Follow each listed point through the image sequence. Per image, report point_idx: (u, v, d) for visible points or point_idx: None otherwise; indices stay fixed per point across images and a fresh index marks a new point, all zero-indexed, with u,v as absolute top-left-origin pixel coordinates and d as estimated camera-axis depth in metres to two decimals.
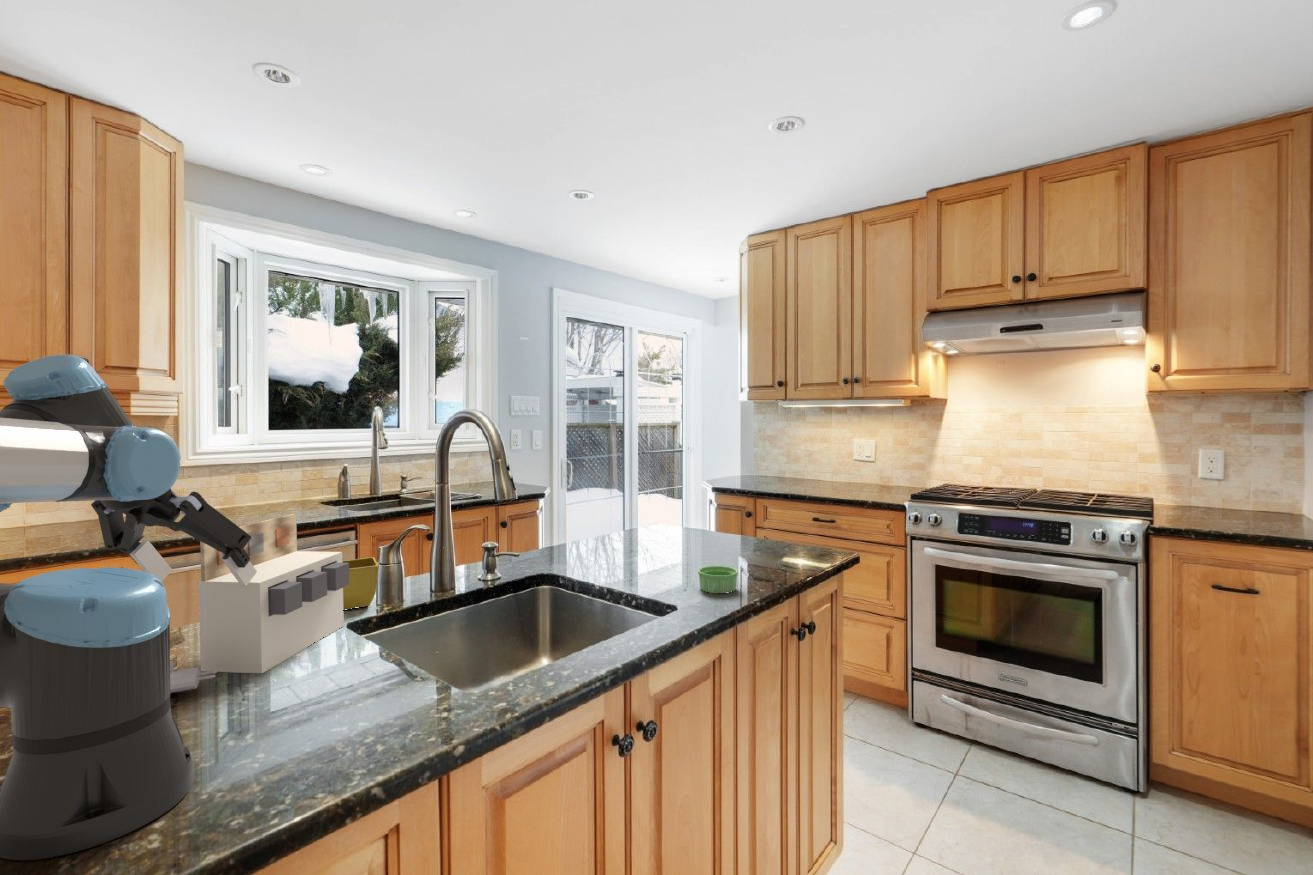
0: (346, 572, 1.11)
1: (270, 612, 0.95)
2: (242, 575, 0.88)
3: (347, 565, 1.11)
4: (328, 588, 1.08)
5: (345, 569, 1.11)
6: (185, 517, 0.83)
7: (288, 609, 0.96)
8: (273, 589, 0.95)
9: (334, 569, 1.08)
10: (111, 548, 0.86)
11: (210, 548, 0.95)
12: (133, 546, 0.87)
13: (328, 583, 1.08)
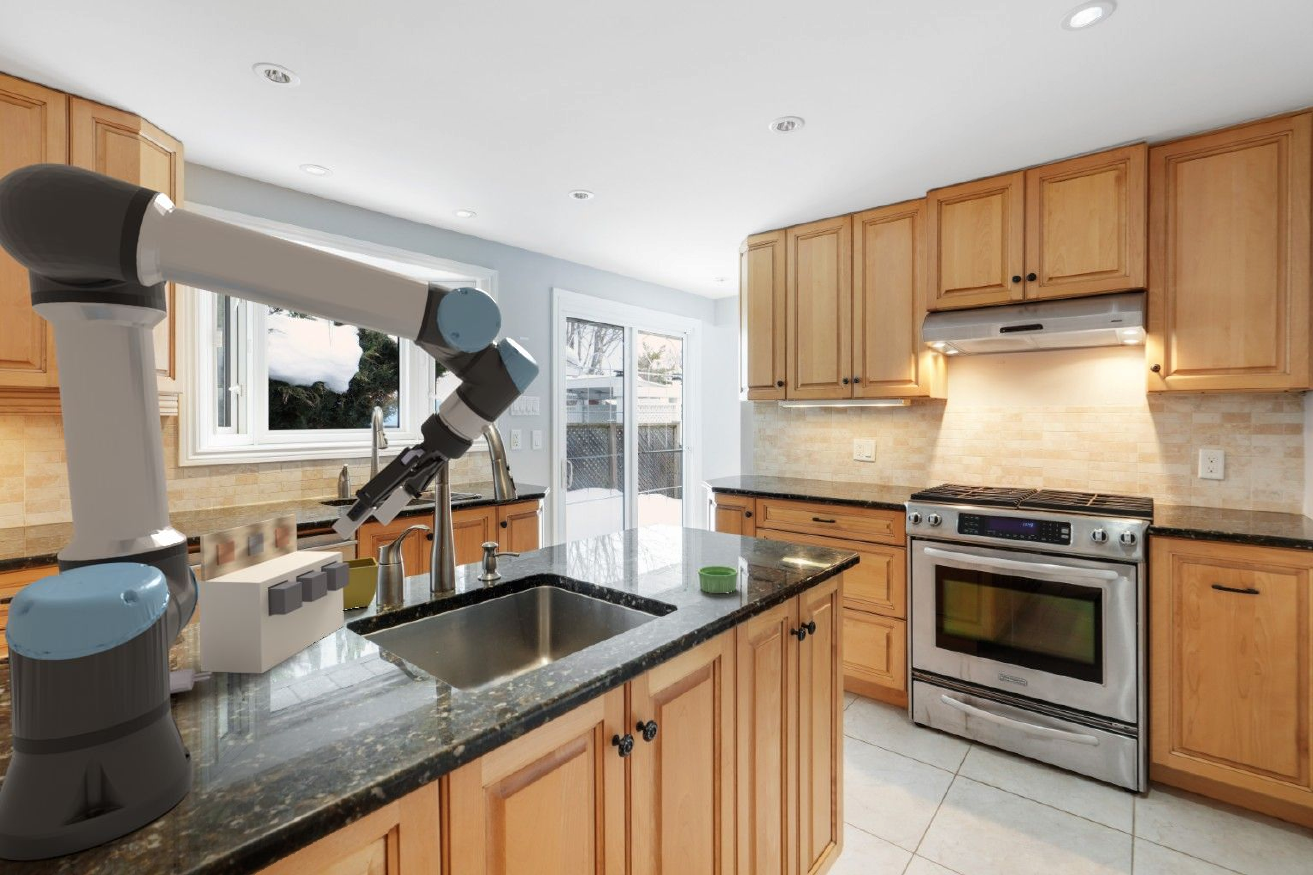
0: (346, 572, 1.11)
1: (270, 612, 0.95)
2: (342, 520, 0.89)
3: (347, 565, 1.11)
4: (328, 588, 1.08)
5: (345, 569, 1.11)
6: None
7: (288, 609, 0.96)
8: (273, 589, 0.95)
9: (334, 569, 1.08)
10: None
11: (210, 548, 0.95)
12: (407, 488, 1.01)
13: (328, 583, 1.08)
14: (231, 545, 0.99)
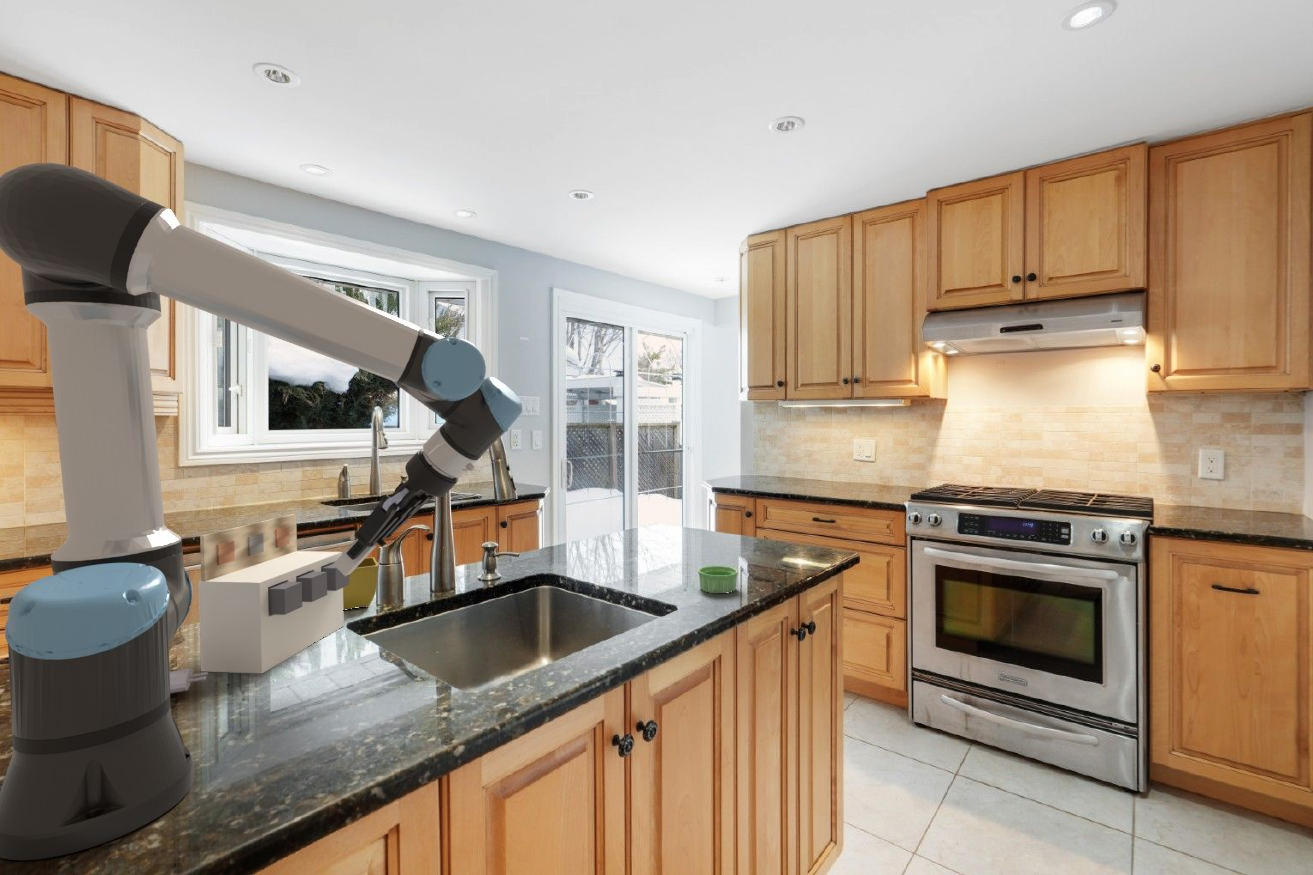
0: None
1: (270, 612, 0.95)
2: (342, 558, 0.96)
3: None
4: (328, 588, 1.08)
5: None
6: None
7: (288, 609, 0.96)
8: (273, 589, 0.95)
9: (334, 569, 1.08)
10: None
11: (210, 548, 0.95)
12: None
13: (328, 583, 1.08)
14: (231, 545, 0.99)
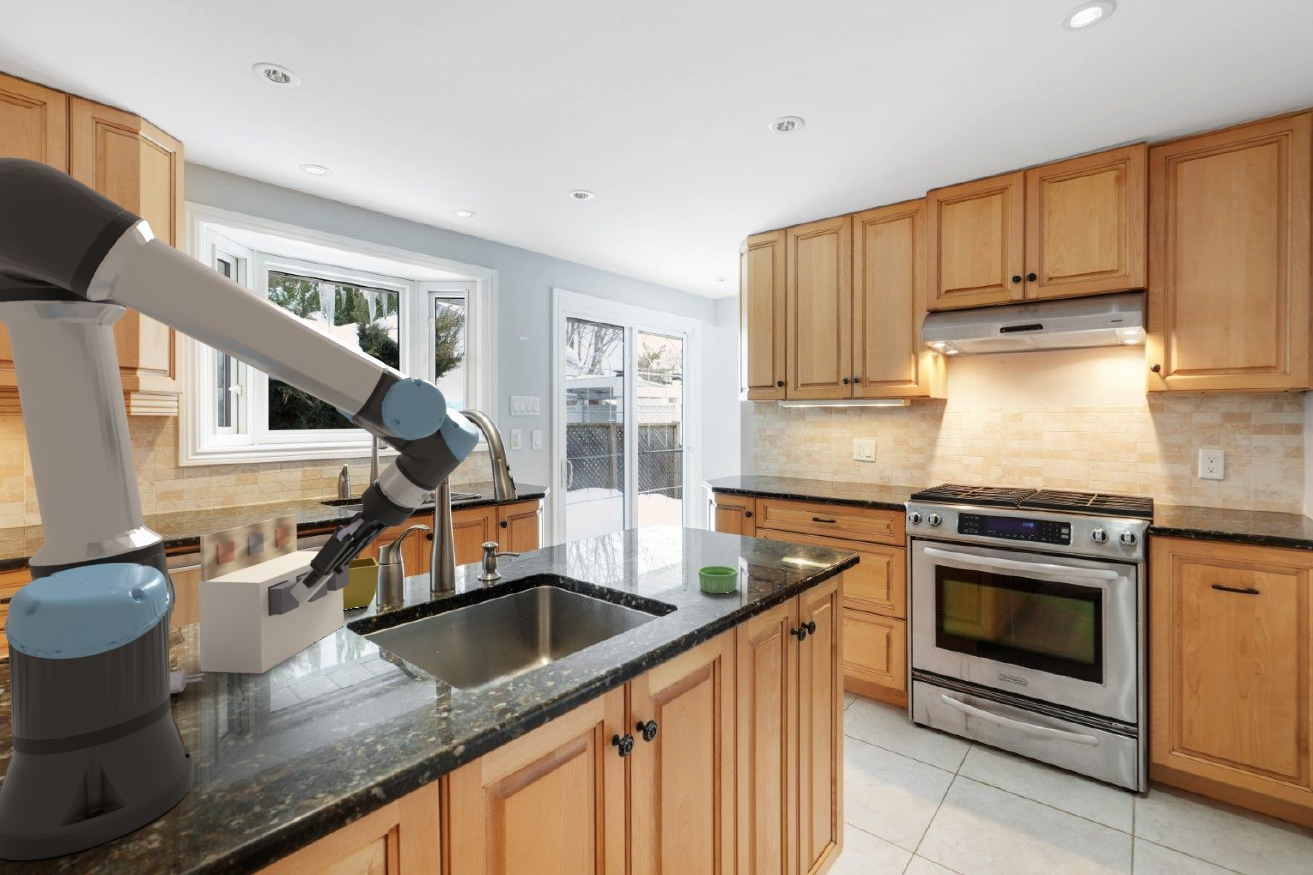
0: (346, 572, 1.11)
1: None
2: (299, 586, 0.96)
3: (347, 565, 1.11)
4: (328, 588, 1.08)
5: (345, 569, 1.11)
6: None
7: (285, 609, 0.96)
8: (270, 589, 0.95)
9: None
10: None
11: (210, 548, 0.95)
12: None
13: (328, 583, 1.08)
14: (231, 545, 0.99)
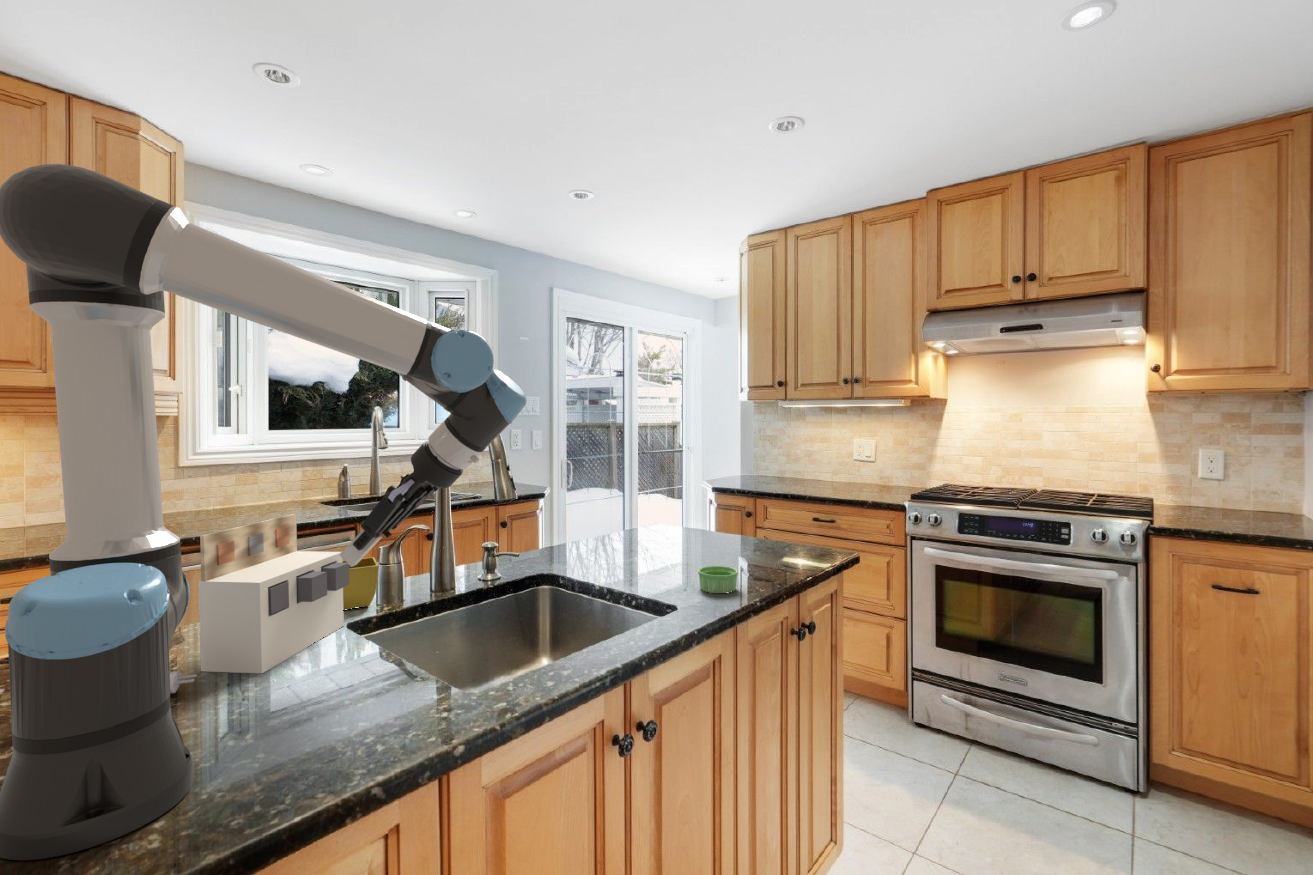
0: (346, 572, 1.11)
1: None
2: (348, 549, 0.97)
3: (347, 565, 1.11)
4: (328, 588, 1.08)
5: (345, 569, 1.11)
6: None
7: (275, 609, 0.96)
8: None
9: (334, 569, 1.08)
10: None
11: (210, 548, 0.95)
12: None
13: (328, 583, 1.08)
14: (231, 545, 0.99)
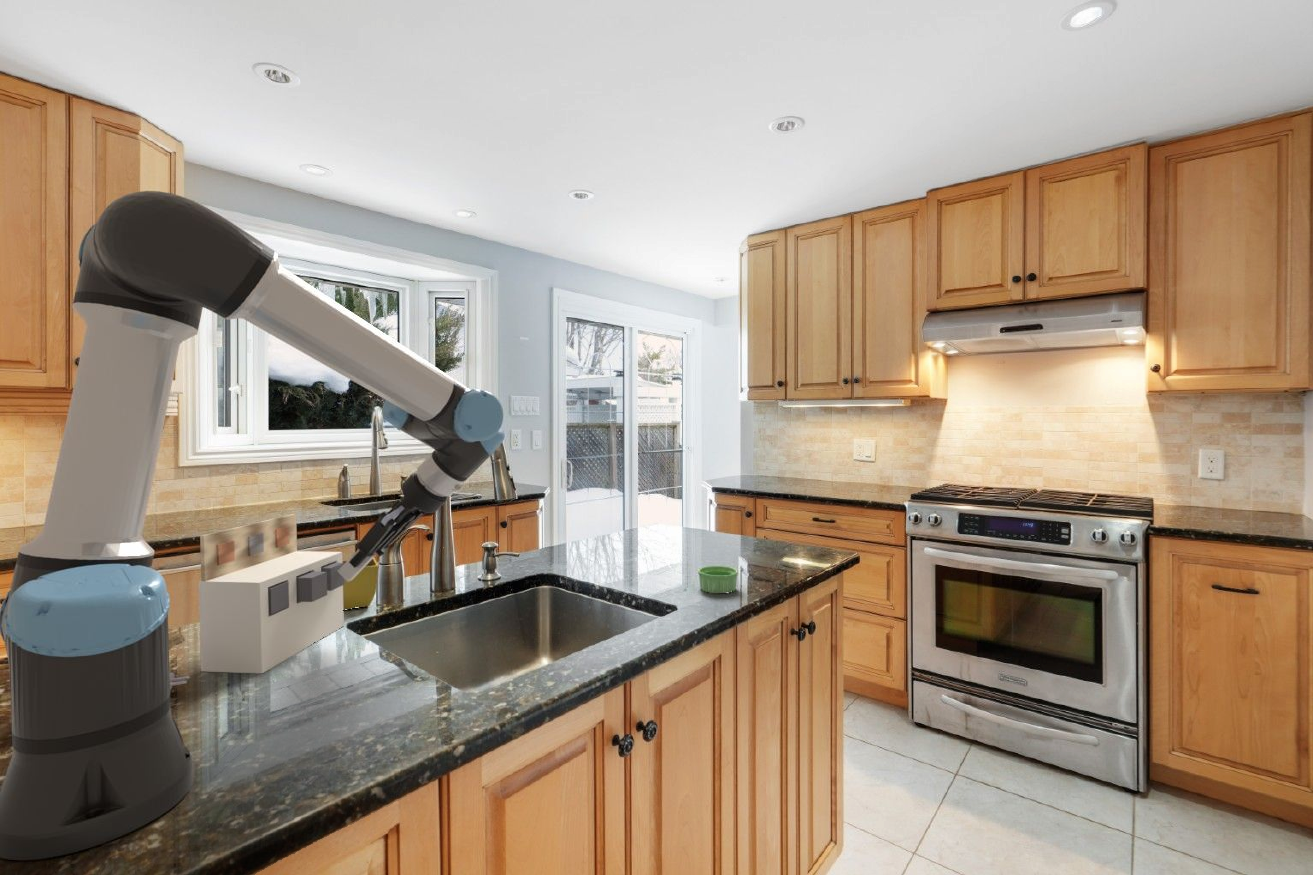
0: None
1: None
2: (345, 566, 1.09)
3: (342, 565, 1.11)
4: None
5: None
6: None
7: (275, 609, 0.96)
8: None
9: (329, 569, 1.08)
10: None
11: (210, 548, 0.95)
12: None
13: None
14: (231, 545, 0.99)
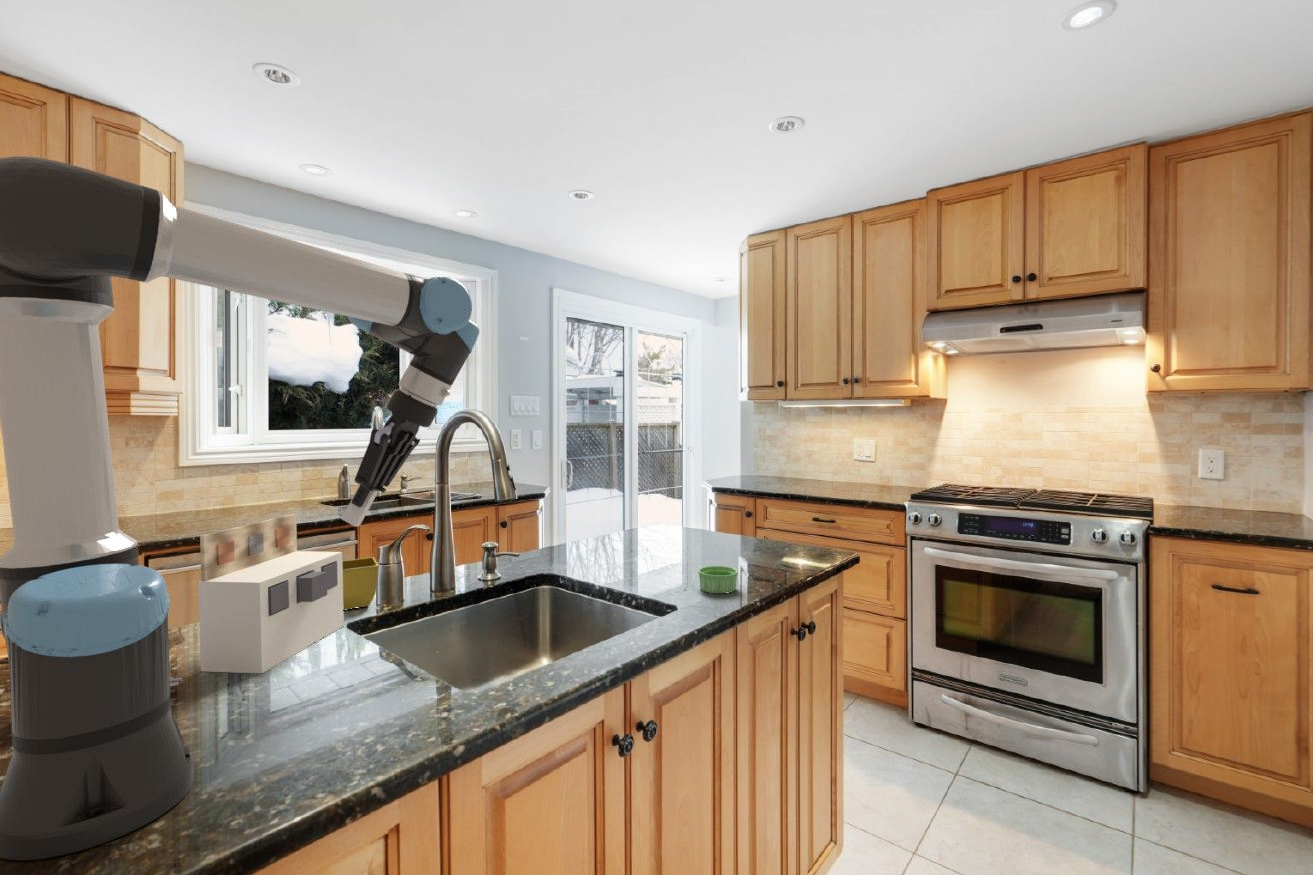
0: (334, 572, 1.11)
1: None
2: (348, 510, 1.01)
3: (335, 565, 1.11)
4: None
5: (333, 569, 1.11)
6: None
7: (275, 609, 0.96)
8: None
9: (322, 569, 1.08)
10: None
11: (210, 548, 0.95)
12: None
13: None
14: (231, 545, 0.99)
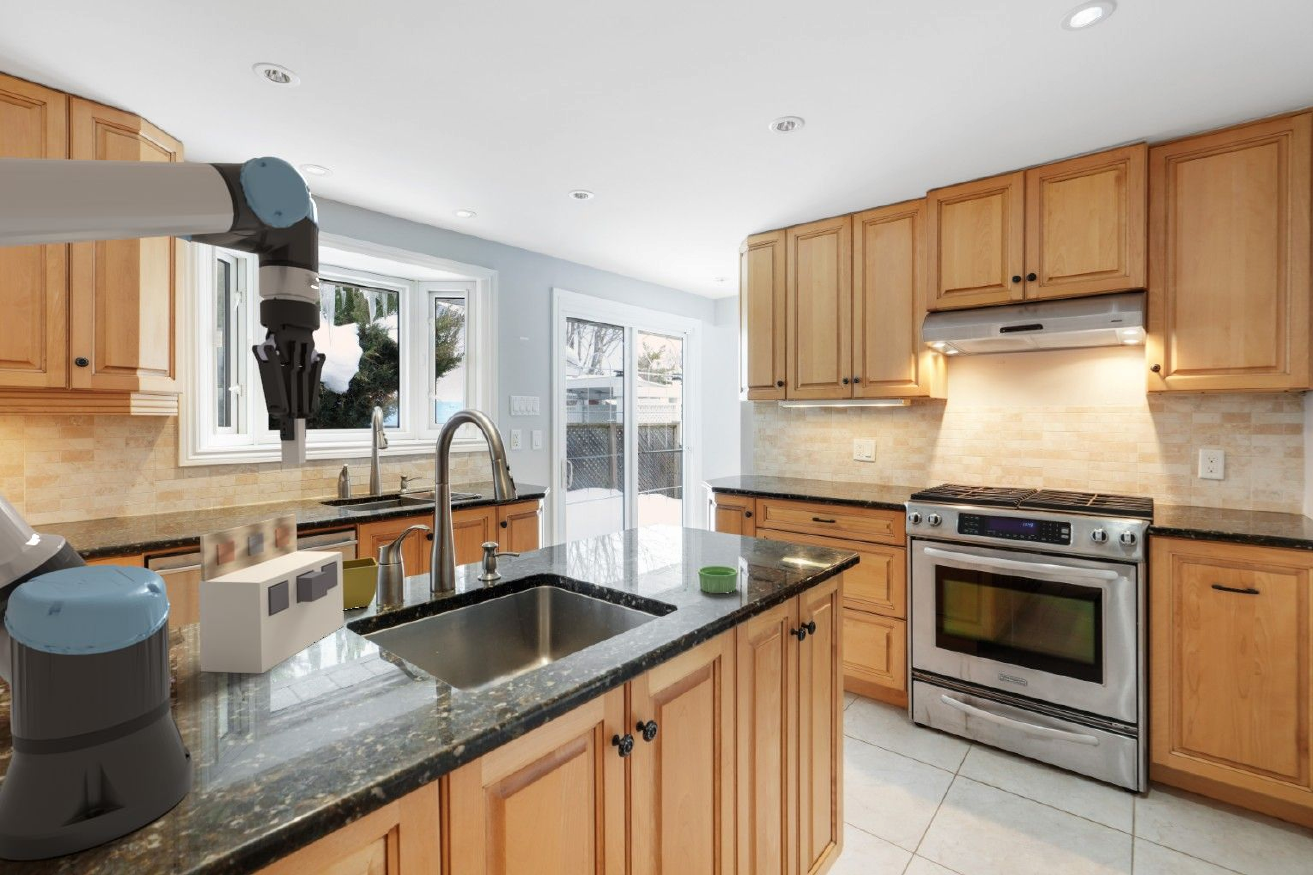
0: (334, 572, 1.11)
1: None
2: (284, 450, 0.90)
3: (335, 565, 1.11)
4: None
5: (333, 569, 1.11)
6: (282, 367, 0.88)
7: (275, 609, 0.96)
8: None
9: (322, 569, 1.08)
10: None
11: (210, 548, 0.95)
12: None
13: None
14: (231, 545, 0.99)
